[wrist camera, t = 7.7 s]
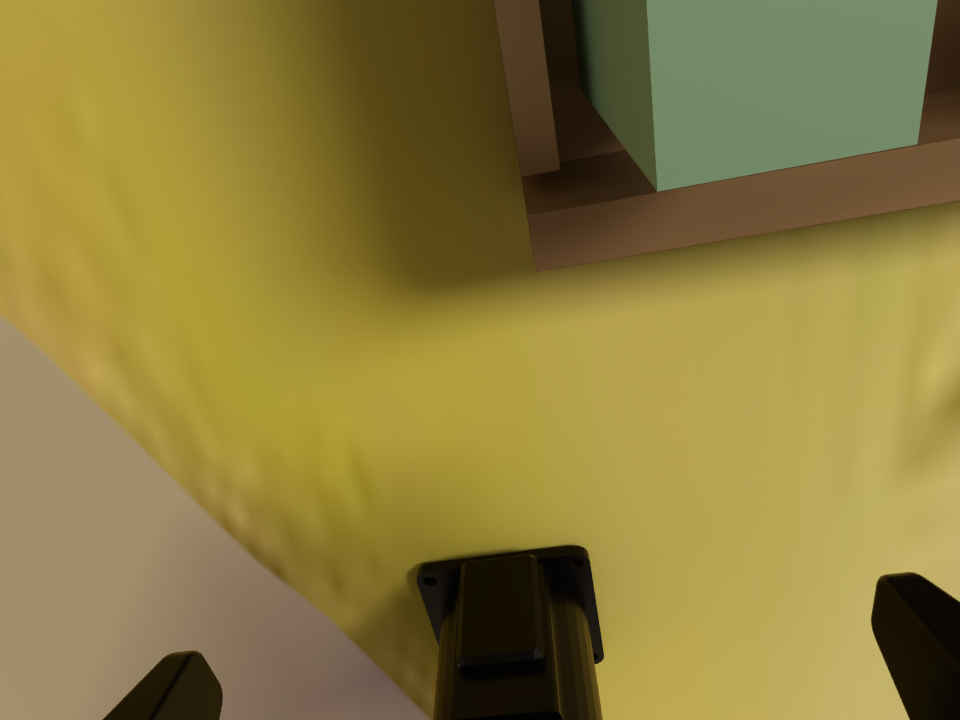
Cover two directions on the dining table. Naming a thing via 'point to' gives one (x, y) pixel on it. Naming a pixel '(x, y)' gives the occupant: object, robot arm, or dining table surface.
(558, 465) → the dining table surface
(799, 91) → the green book
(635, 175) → the book rack
